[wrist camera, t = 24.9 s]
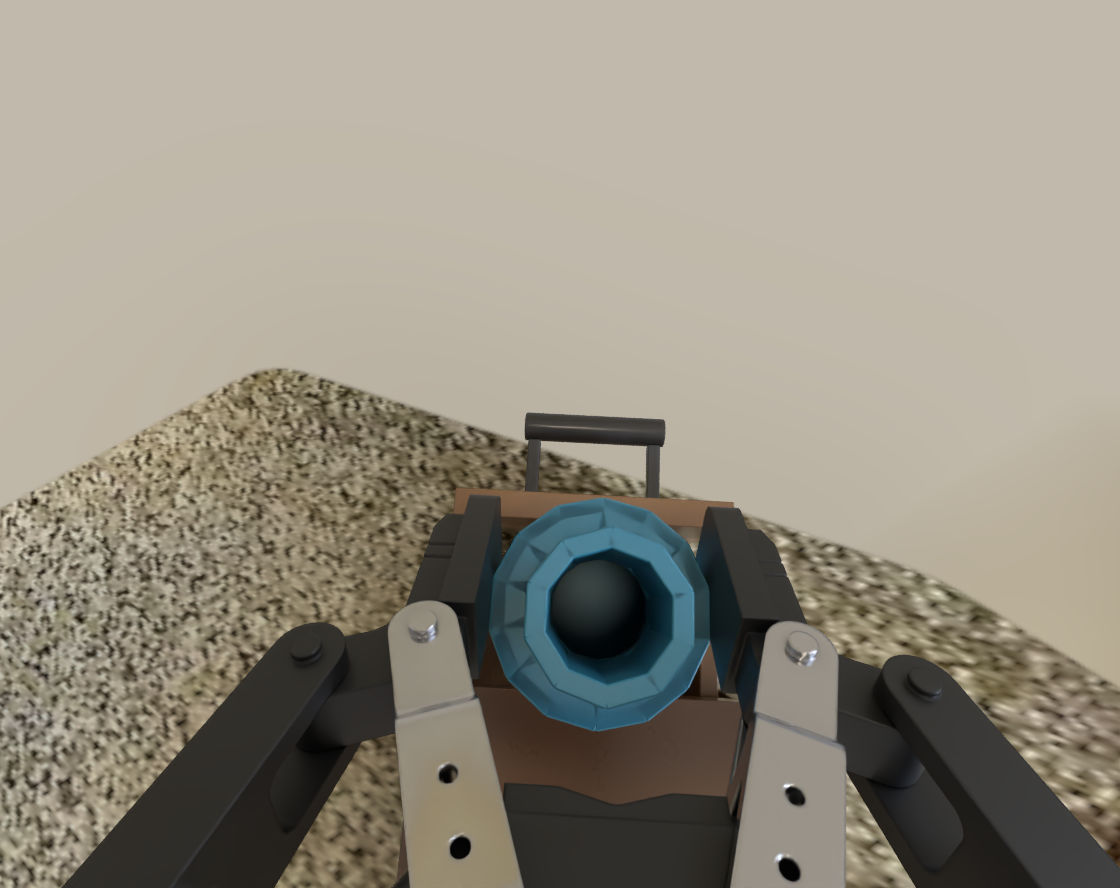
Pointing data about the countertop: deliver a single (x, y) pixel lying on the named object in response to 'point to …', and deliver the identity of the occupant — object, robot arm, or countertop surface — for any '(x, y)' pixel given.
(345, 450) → the countertop surface
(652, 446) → the drawer
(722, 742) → the cabinet
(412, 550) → the countertop surface
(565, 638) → the bottle
